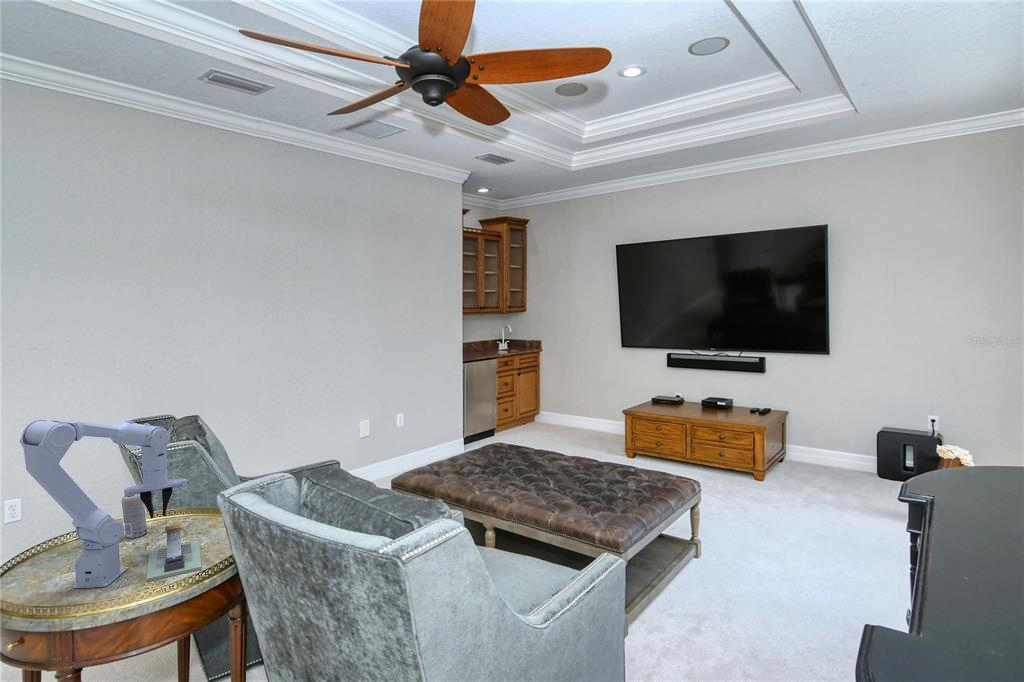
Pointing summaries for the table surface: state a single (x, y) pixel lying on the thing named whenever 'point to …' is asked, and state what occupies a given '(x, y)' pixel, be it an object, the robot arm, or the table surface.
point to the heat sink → (185, 553)
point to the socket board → (188, 565)
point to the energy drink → (134, 516)
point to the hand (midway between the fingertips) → (158, 516)
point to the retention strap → (173, 542)
